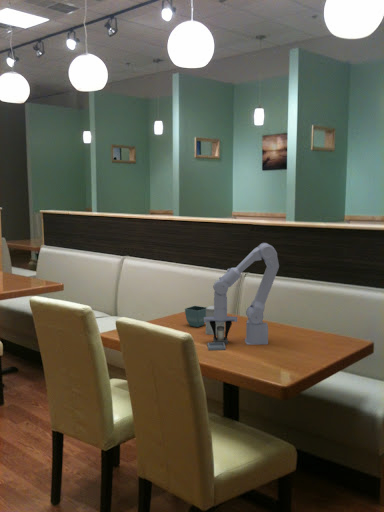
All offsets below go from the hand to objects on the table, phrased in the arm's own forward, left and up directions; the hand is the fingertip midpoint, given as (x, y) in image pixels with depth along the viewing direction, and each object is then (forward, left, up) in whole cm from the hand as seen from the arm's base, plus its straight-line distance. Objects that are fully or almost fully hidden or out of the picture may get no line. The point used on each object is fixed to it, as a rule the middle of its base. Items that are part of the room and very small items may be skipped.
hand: (220, 337), depth 234 cm
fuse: (0, 0, -2) cm, 2 cm away
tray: (+3, +8, -2) cm, 8 cm away
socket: (0, 0, -2) cm, 2 cm away
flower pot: (+9, -31, -3) cm, 32 cm away
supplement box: (+1, -16, -3) cm, 16 cm away
